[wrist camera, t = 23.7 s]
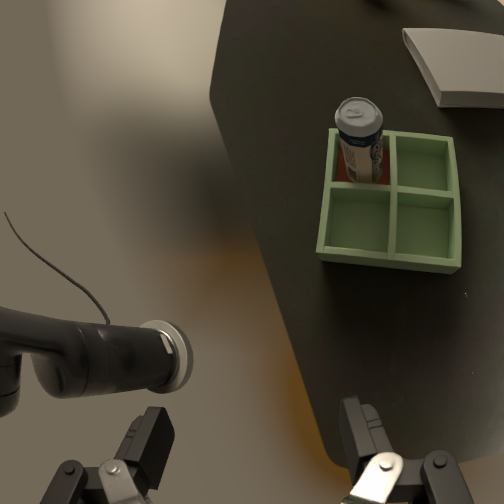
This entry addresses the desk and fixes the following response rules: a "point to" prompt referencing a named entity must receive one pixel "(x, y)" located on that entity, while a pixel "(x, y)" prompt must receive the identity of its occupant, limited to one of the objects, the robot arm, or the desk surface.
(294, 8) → the desk surface
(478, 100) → the book
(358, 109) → the beer can
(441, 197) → the compartment tray
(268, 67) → the desk surface
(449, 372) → the desk surface
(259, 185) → the desk surface
